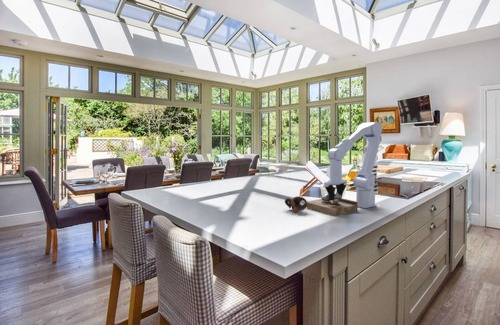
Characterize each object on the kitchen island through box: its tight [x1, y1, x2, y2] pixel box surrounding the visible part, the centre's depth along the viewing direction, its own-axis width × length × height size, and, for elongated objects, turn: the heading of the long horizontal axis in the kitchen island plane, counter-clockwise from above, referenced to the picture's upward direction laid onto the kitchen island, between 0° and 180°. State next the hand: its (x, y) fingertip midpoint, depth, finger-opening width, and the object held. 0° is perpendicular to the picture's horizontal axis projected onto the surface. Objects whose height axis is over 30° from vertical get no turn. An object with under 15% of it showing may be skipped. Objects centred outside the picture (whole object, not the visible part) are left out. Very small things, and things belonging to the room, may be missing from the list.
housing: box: [306, 197, 359, 217], centre depth 150 cm, size 16×20×4 cm
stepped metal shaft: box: [333, 191, 341, 206], centre depth 147 cm, size 5×5×7 cm
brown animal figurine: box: [284, 196, 308, 214], centre depth 148 cm, size 12×10×8 cm
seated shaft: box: [320, 193, 331, 203], centre depth 152 cm, size 5×5×7 cm
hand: (335, 199), depth 147 cm, fingers closed on stepped metal shaft, 5 cm apart
